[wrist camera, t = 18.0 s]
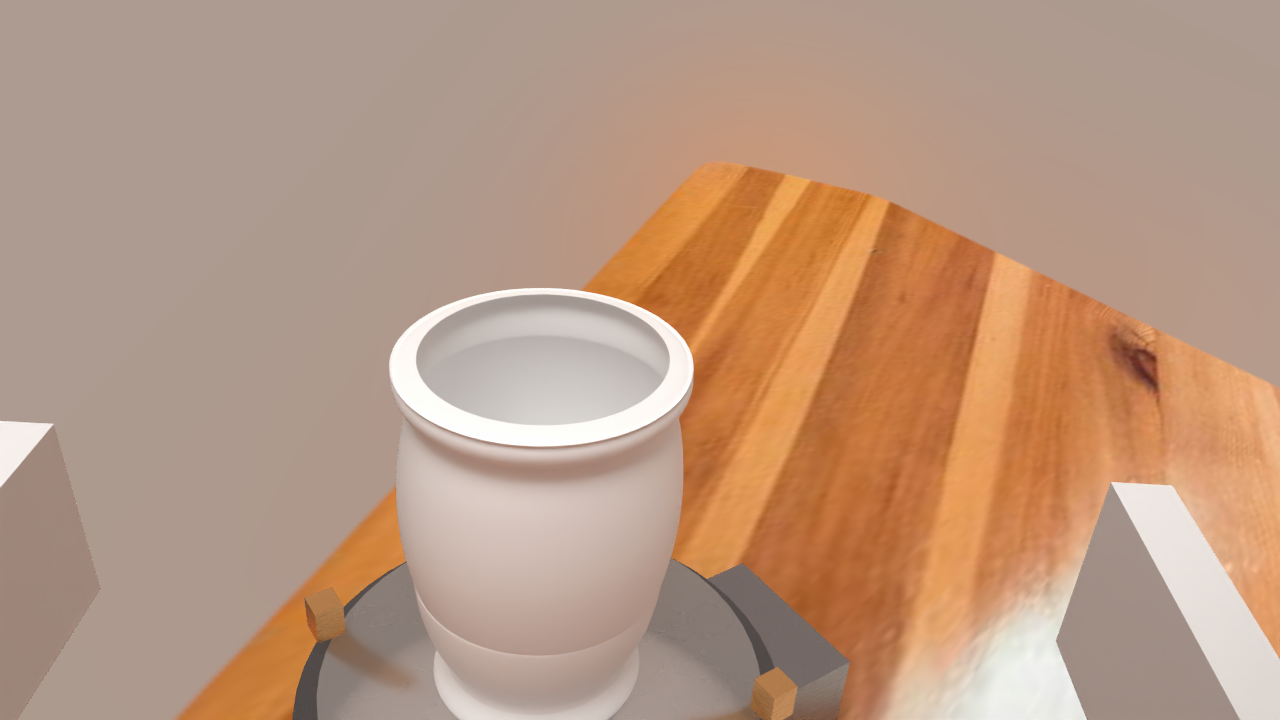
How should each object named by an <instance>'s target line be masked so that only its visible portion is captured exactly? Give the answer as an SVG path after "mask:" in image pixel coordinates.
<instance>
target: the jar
mask: <svg viewBox="0 0 1280 720" xmlns="http://www.w3.org/2000/svg"><path fill="white" fill-rule="evenodd" d="M389 371H390V381H391V382H390V383H391V390H392V394H393V397H394V400H395V402H396V405H397V406H398V408H399V410H400V411H401V413H402V414H403V416H404V419H403V423H402V429H401V434H400V441H399V449H398V459H397V476H396V497H397V513H398V522H399V530H400V536H401V541H402V546H403V550H404V555H405V558H406V562H407V565H408V569H409V572H410V575H411V577H412V580H413V583H414V588H415V594H416V598H417V603H418V607H419V610H420V614H421V617H422V620H423V622H424V625H425V628H426V630H427V632H428V635H429V637H430V639H431V641H432V643H433V644H434V646H435V648H436V652H435V657H434V679H435V684H436V687H437V690H438V692H439V695H440V697H441V699H442V700H443V702H444V704H445V705H446V706H447V708H448V709H449V710H450V711H451V713H452V714H453V715H454V716H455V717H456V718H458V719H459V720H608V719H609V718H611V717H612V716H613V715H614V714H615V713H616V712H617V711H618V710H619V709H620V708H621V707H622V706H623V704H624V703H625V702H626V700H627V699H628V697H629V696H630V694H631V692H632V690H633V688H634V686H635V683H636V680H637V676H638V671H639V651H638V644H639V642H640V641H641V639H642V637H643V635H644V633H645V631H646V629H647V627H648V625H649V623H650V620H651V618H652V615H653V612H654V609H655V606H656V603H657V600H658V596H659V592H660V588H661V585H662V582H663V579H664V577H665V574H666V571H667V568H668V565H669V562H670V558H671V555H672V551H673V548H674V544H675V539H676V535H677V530H678V525H679V519H680V513H681V504H682V493H683V449H682V437H681V429H680V422H679V416H680V415H681V414H682V412H683V411H684V409H685V407H686V406H687V403H688V401H689V399H690V396H691V392H692V388H693V359H692V355H691V352H690V350H689V348H688V346H687V344H686V342H685V341H684V340H683V338H682V337H681V336H680V335H679V333H678V332H677V331H676V330H675V329H673V328H672V327H671V326H670V325H669V324H668V323H666V322H665V321H663V320H662V319H661V318H659V317H657V316H656V315H654V314H652V313H650V312H649V311H647V310H645V309H642V308H640V307H638V306H636V305H633V304H631V303H628V302H625V301H622V300H619V299H616V298H612V297H608V296H604V295H600V294H595V293H590V292H584V291H577V290H567V289H553V288H528V289H515V290H505V291H497V292H492V293H486V294H481V295H477V296H473V297H469V298H466V299H462V300H459V301H456V302H453V303H451V304H448V305H446V306H443V307H441V308H439V309H437V310H435V311H433V312H431V313H429V314H427V315H426V316H424V317H423V318H421V319H420V320H418V321H417V322H416V323H414V324H413V325H412V326H411V327H409V328H408V329H407V330H406V331H405V333H403V335H402V336H401V337H400V338H399V340H398V341H397V343H396V344H395V346H394V348H393V350H392V353H391V356H390V362H389Z"/></svg>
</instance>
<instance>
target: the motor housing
mask: <svg viewBox="0 0 1280 720" xmlns="http://www.w3.org/2000/svg"><path fill="white" fill-rule="evenodd" d="M304 600H305V607H306V615H307V623H308V627H309V628H310V630H311V632H312V634H313V635H314V637H315V639H316V640H317V642H316V644H315V646H314V648H313V650H312V652H311V654H310V656H309V658H308V660H307V662H306V664H305V666H304V669H303V672H302V675H301V678H300V681H299V685H298V688H297V691H296V697H295V704H294V711H293V720H459V719H458V718H456V717H455V716H454V715H453V714H452V713H451V711H450V710H449V709H448V708H447V706H446V705H445V704H444V702H443V700H442V699H441V697H440V695H439V692H438V690H437V687H436V684H435V679H434V657H435V652H436V648H435V646H434V644H433V643H432V641H431V639H430V637H429V635H428V632H427V630H426V628H425V625H424V622H423V620H422V617H421V614H420V610H419V607H418V603H417V598H416V594H415V588H414V583H413V580H412V577H411V575H410V572H409V569H408V565H407V562H405V563H403V564H401V565H399V566H397V567H396V568H394V569H392V570H390V571H388V572H387V573H386V574H384V575H383V576H381V577H380V578H378V579H377V580H375V581H374V582H373V583H371V584H370V585H368V586H367V587H366V588H365V589H363V590H362V591H361V592H360V593H359V594H358V595H357V596H355V597H354V598H353V599H352V600H351V601H350V602H349V603H347V605H346V606H345V607H344V608H343V604H342V602H341V601H340V599H339V597H338V596H337V594H336V593H335V591H334V590H333V588H332V587H331V588H329V589H326V590H323V591H321V592H318V593H315V594H313V595H310V596H307V597H305V598H304ZM638 651H639V671H638V676H637V680H636V683H635V686H634V688H633V690H632V692H631V694H630V696H629V697H628V699H627V700H626V702H625V703H624V704H623V706H622V707H621V708H620V709H619V710H618V711H617V712H616V713H615V714H614V715H613V716H612V717H611V718H609V719H608V720H837V715H838V711H839V707H840V702H841V698H842V694H843V689H844V685H845V680H846V676H847V672H848V667H849V663H850V661H848V660H847V659H846V658H845V657H844V656H843V655H842V654H841V653H840V652H839V651H838V650H836V649H835V648H834V647H833V646H832V645H831V644H830V643H829V642H828V641H827V640H826V639H825V638H823V637H822V636H821V635H820V634H819V633H818V632H817V631H816V630H815V629H814V628H813V627H811V626H810V625H809V624H808V623H807V622H806V621H805V620H804V619H803V618H802V617H801V616H800V615H798V614H797V613H796V612H795V611H794V610H793V609H792V608H791V607H790V606H789V605H788V604H787V603H785V602H784V601H783V600H782V599H781V598H780V597H779V596H778V595H777V594H776V593H775V592H773V591H772V590H771V589H770V588H769V587H768V586H767V585H766V584H765V583H764V582H763V581H762V580H760V579H759V578H758V577H757V576H756V575H755V574H754V573H753V572H752V571H751V570H750V569H748V568H747V567H746V566H745V565H744V564H743V563H742V564H740V565H738V566H735V567H733V568H731V569H729V570H727V571H724V572H722V573H720V574H718V575H715V576H713V577H711V578H709V579H706V578H704V577H703V576H701V575H700V574H698V573H697V572H695V571H694V570H692V569H691V568H689V567H687V566H685V565H684V564H682V563H680V562H678V561H676V560H674V559H672V558H670V562H669V565H668V568H667V571H666V574H665V577H664V579H663V582H662V585H661V588H660V592H659V596H658V600H657V603H656V606H655V609H654V612H653V615H652V618H651V620H650V623H649V625H648V627H647V629H646V631H645V633H644V635H643V637H642V639H641V641H640V642H639V644H638Z"/></svg>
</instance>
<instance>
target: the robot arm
mask: <svg viewBox="0 0 1280 720" xmlns="http://www.w3.org/2000/svg"><path fill="white" fill-rule="evenodd" d="M100 589H101V588H100V585H99V581H98V578H97V574H96V571H95V568H94V564H93V561H92V557H91V553H90V550H89V547H88V543H87V539H86V536H85V532H84V529H83V526H82V522H81V518H80V515H79V512H78V508H77V504H76V501H75V497H74V494H73V490H72V487H71V483H70V480H69V476H68V473H67V469H66V466H65V462H64V459H63V456H62V452H61V448H60V445H59V441H58V438H57V434H56V431H55V427H54V424H43V423H25V422H7V421H0V720H17V719H18V718H19V716H20V715H21V713H22V712H23V710H24V708H25V707H26V705H27V704H28V702H29V701H30V699H31V698H32V696H33V694H34V692H35V691H36V690H37V688H38V686H39V685H40V683H41V682H42V680H43V679H44V677H45V675H46V674H47V672H48V671H49V669H50V668H51V666H52V664H53V663H54V661H55V660H56V658H57V657H58V655H59V653H60V652H61V650H62V649H63V647H64V646H65V644H66V642H67V641H68V639H69V638H70V636H71V634H72V633H73V631H74V629H75V628H76V627H77V625H78V623H79V622H80V620H81V619H82V617H83V616H84V614H85V612H86V611H87V609H88V608H89V606H90V604H91V603H92V601H93V600H94V598H95V597H96V595H97V593H98V592H99V590H100ZM1056 642H1057V645H1058V648H1059V650H1060V653H1061V655H1062V658H1063V660H1064V663H1065V665H1066V668H1067V670H1068V673H1069V675H1070V678H1071V680H1072V683H1073V685H1074V688H1075V690H1076V693H1077V695H1078V698H1079V700H1080V703H1081V705H1082V708H1083V711H1084V713H1085V716H1086V718H1087V720H1280V659H1279V657H1278V656H1277V654H1276V652H1275V651H1274V649H1273V647H1272V646H1271V644H1270V643H1269V641H1268V639H1267V638H1266V636H1265V634H1264V633H1263V631H1262V630H1261V628H1260V626H1259V625H1258V623H1257V622H1256V620H1255V618H1254V617H1253V615H1252V613H1251V612H1250V610H1249V609H1248V607H1247V605H1246V604H1245V602H1244V601H1243V599H1242V597H1241V596H1240V594H1239V592H1238V591H1237V589H1236V588H1235V586H1234V584H1233V583H1232V581H1231V580H1230V578H1229V576H1228V575H1227V573H1226V571H1225V570H1224V568H1223V567H1222V565H1221V563H1220V562H1219V560H1218V559H1217V557H1216V555H1215V554H1214V552H1213V550H1212V549H1211V547H1210V546H1209V544H1208V542H1207V541H1206V539H1205V537H1204V536H1203V534H1202V533H1201V531H1200V529H1199V528H1198V526H1197V525H1196V523H1195V521H1194V520H1193V518H1192V516H1191V515H1190V513H1189V512H1188V510H1187V508H1186V507H1185V505H1184V504H1183V502H1182V500H1181V499H1180V497H1179V495H1178V494H1177V492H1176V491H1175V489H1174V487H1173V486H1170V485H1151V484H1133V483H1115V482H1111V483H1110V486H1109V489H1108V492H1107V495H1106V498H1105V501H1104V504H1103V506H1102V509H1101V512H1100V515H1099V518H1098V521H1097V524H1096V527H1095V530H1094V532H1093V535H1092V538H1091V541H1090V544H1089V547H1088V550H1087V553H1086V556H1085V558H1084V561H1083V564H1082V567H1081V570H1080V573H1079V576H1078V579H1077V582H1076V584H1075V587H1074V590H1073V593H1072V596H1071V599H1070V602H1069V605H1068V608H1067V610H1066V613H1065V616H1064V619H1063V622H1062V625H1061V628H1060V631H1059V634H1058V636H1057V639H1056Z"/></svg>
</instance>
